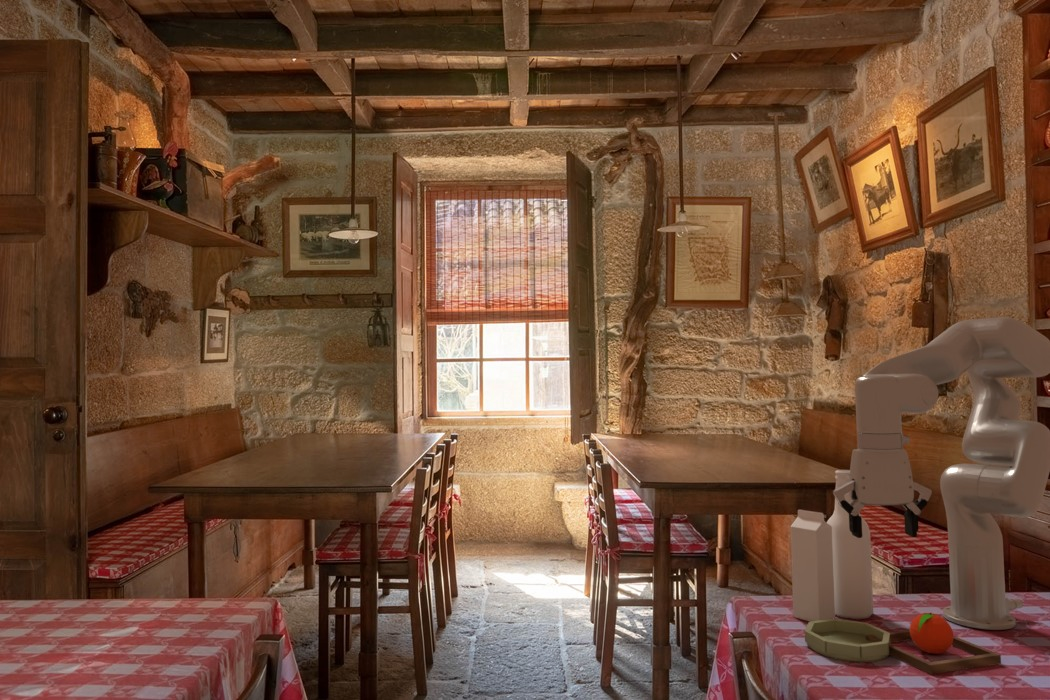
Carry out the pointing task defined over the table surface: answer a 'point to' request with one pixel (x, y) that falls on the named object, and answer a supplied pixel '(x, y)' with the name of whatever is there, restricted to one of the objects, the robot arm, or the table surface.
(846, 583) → the alcohol
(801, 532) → the milk
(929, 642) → the clementine
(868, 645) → the dish
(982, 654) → the brown rectangular frame
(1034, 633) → the table surface
